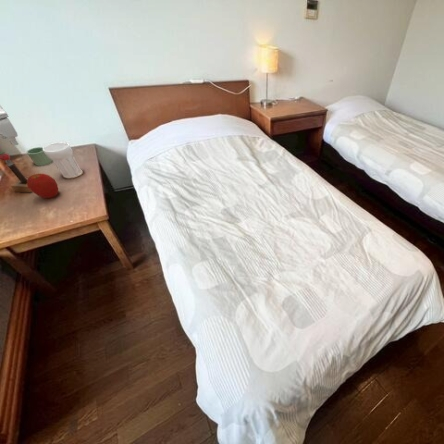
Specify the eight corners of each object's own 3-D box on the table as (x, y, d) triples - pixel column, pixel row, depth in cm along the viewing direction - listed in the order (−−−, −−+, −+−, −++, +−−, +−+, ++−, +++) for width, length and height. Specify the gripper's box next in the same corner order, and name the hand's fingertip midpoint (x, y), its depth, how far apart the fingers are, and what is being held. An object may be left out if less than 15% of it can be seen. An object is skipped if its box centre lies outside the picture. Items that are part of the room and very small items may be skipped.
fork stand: (15, 192, 128) (10, 185, 125) (28, 183, 134) (22, 177, 131) (32, 192, 129) (27, 186, 126) (43, 184, 135) (38, 178, 132)
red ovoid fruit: (63, 188, 133) (47, 165, 124) (64, 198, 128) (47, 175, 118) (38, 194, 128) (20, 171, 119) (38, 204, 123) (19, 181, 113)
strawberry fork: (23, 189, 130) (-6, 154, 116) (29, 185, 133) (0, 150, 119) (30, 190, 130) (2, 155, 116) (36, 186, 133) (8, 151, 119)
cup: (59, 173, 143) (40, 145, 131) (83, 167, 149) (66, 140, 137) (63, 182, 137) (43, 153, 125) (87, 175, 143) (70, 148, 131)
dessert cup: (31, 164, 147) (22, 152, 142) (45, 158, 153) (37, 146, 147) (42, 167, 146) (33, 155, 140) (56, 161, 152) (48, 149, 146)
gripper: (-35, 104, 101) (-10, 136, 110) (-13, 117, 94) (12, 151, 104) (-14, 100, 105) (8, 132, 115) (8, 113, 99) (30, 145, 108)
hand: (10, 141), depth 109 cm, fingers open, 8 cm apart
